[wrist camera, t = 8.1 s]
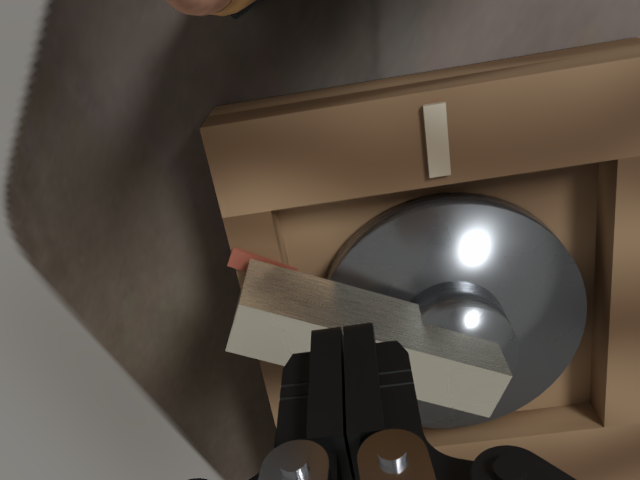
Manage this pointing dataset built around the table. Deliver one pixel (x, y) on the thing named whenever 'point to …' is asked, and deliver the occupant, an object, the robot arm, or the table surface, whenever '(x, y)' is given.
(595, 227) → the wooden tray
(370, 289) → the dial
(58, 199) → the table surface
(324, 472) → the robot arm
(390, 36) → the table surface
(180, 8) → the ammunition clip
